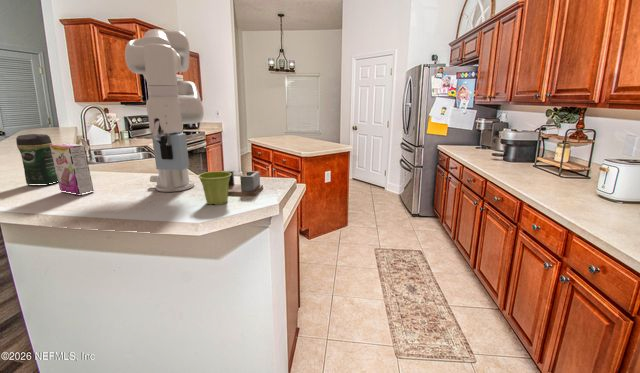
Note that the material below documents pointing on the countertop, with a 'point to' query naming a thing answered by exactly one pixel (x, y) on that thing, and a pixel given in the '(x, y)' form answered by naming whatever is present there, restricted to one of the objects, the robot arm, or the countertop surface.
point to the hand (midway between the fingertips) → (171, 156)
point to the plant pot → (215, 186)
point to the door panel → (178, 150)
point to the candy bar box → (71, 167)
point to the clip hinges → (247, 180)
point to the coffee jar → (37, 158)
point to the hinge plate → (237, 191)
